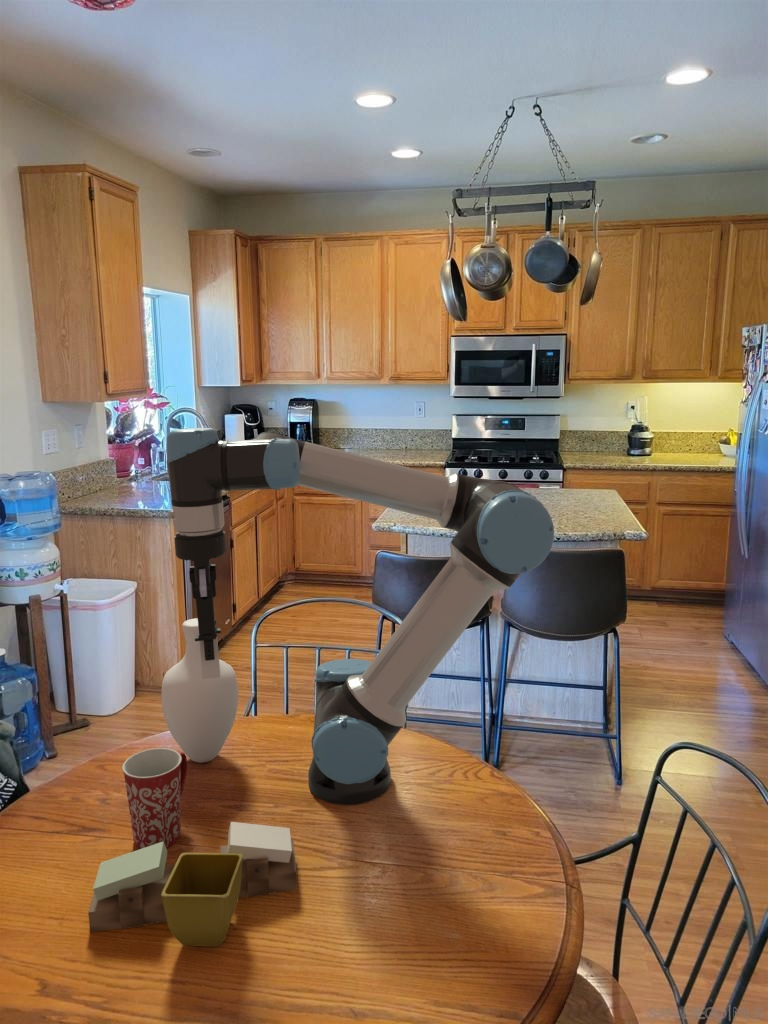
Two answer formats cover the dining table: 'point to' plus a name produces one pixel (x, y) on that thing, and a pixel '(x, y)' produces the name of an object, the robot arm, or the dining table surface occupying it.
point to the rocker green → (130, 870)
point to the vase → (199, 702)
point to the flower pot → (202, 897)
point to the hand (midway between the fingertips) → (211, 676)
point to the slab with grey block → (130, 906)
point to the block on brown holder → (266, 875)
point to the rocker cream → (260, 841)
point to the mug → (155, 795)
